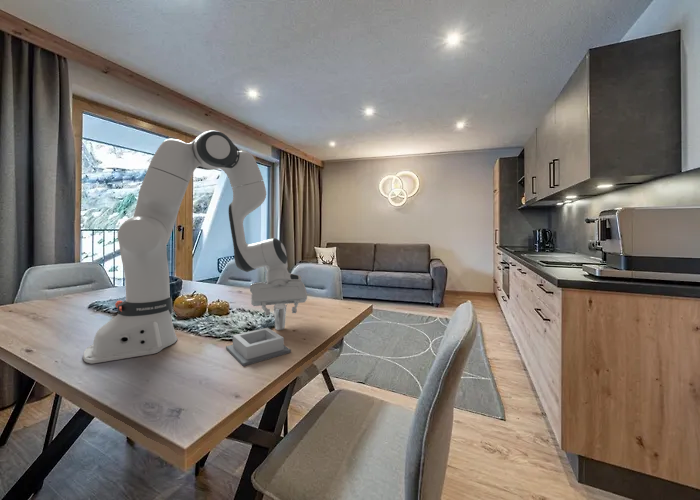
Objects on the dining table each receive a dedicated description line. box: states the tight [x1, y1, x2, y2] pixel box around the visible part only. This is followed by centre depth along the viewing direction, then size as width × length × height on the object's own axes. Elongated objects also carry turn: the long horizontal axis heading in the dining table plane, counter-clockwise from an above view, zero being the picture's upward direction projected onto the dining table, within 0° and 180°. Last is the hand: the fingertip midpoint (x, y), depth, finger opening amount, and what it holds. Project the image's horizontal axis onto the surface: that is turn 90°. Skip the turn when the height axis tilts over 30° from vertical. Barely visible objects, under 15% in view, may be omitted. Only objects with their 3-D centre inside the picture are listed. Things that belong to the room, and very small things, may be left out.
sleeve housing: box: [225, 327, 292, 367], centre depth 87 cm, size 14×14×4 cm
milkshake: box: [273, 303, 288, 331], centre depth 106 cm, size 5×5×10 cm
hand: (281, 313), depth 105 cm, fingers open, 8 cm apart
